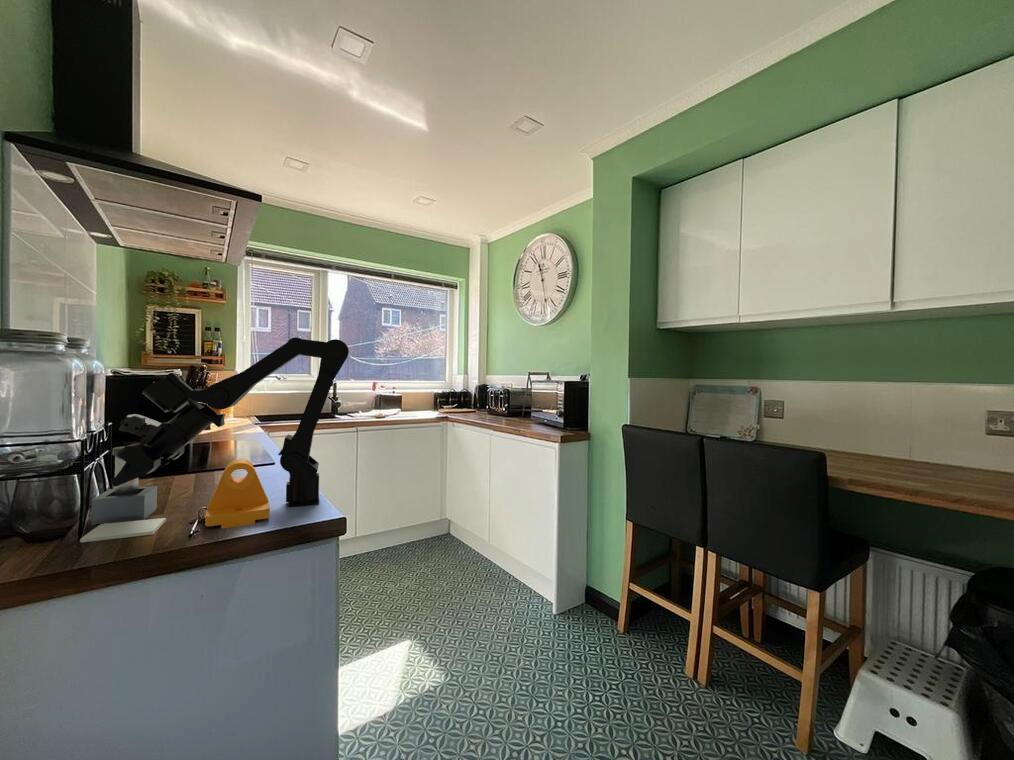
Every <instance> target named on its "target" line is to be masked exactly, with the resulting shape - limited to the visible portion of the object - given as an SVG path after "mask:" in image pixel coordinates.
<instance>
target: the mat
mask: <svg viewBox="0 0 1014 760" xmlns="http://www.w3.org/2000/svg"><path fill="white" fill-rule="evenodd" d="M166 521H167V518H166V517H161V518H159V517H158V518H150V519H145V520H139V521H128V522H118V523H108V524H100V525H97V526H96V527H94V528H93V529H92V530H91V531H89V532H87V534H85V535H84V536H83V537H81V538H80V539H79V543H87V542H98V541H106V540H115V539H116V540H117V539H123V538H125V539H126V538H133V537H141V536H142V537H143V536H151V535H154V534H155V533H156V532H157V531H158V530H159V528H161V527H162V526H163V525H164V524H165V522H166Z"/></svg>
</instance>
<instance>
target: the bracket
mask: <svg viewBox="0 0 1014 760" xmlns="http://www.w3.org/2000/svg"><path fill="white" fill-rule="evenodd" d="M240 469H241V470H245V471H246V472H247V474H246V475H245V476H244V477H243V478H234V477H233V476H232V473H233V472H235V471H236V470H240ZM270 509H271V506H270V503H269V498H268V496H267V494H266V492H265V489H264V488H263V485H262V483H261V480H260V478H259V476H258V474H257V471H256V469H255V467H254V464H253V463H252V462H251V461H250V460H247V459H244V458H238V459H233V460H232V461H230V462H229V463H228V464H227V465H226V466H225V468H224V470H223V473H222V474H221V476H220V479H219V481H218V484H217V486H216V488H215V490H214V492H213V494H212V496H211V499H210V501H209V503H208V505H207V508H206V513H205V518H204V519H205V520H204V521H205V522H204V523H205V527H214V526H220V527H221V529H227V528H228V529H229V528H234V527H235V528H236V527H242V526H247V525H255V524H256V520H264V519H268V518H270V513H271V512H270V511H271V510H270Z"/></svg>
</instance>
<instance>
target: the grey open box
mask: <svg viewBox="0 0 1014 760" xmlns="http://www.w3.org/2000/svg"><path fill="white" fill-rule="evenodd" d="M114 494H115V488H109V489H107V490H105V491H104V492H102V493H100V494H98V495H97V496H95V497H93V498H92V499H91V515H90V516H91V517H90V518H91V519H90V522H91V523H90V524H91V525H90V526H96V524H104V523H118V522H128V521H139V520H147V518H149V517H150V516H151V515H152V514H153V513H154V512H155V511H156V510H157V509H158V507H157V506H158V503H157V502H158V485H151V486H138V494H134V495H121V496H114Z"/></svg>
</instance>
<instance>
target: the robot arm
mask: <svg viewBox="0 0 1014 760" xmlns="http://www.w3.org/2000/svg"><path fill="white" fill-rule="evenodd" d="M349 354H350V351H349V347H348V345H347V344H346V343H345V341H343V340H341V339H336V338H335V339H330V340H328V341H320V340H312V339H305V338H301V337H296V336H295V337H291V338H290V339H288V340H287V341H286V343H284V344H283V345H281V346H280V347H278V348H276V349H275V350H274V351H272V352H270V353H269V354H267V355H265V356H264V357H263V358H262V359H261V358H260V360H258V361H257V362H255V363H254V364H252V365H250V366H249V367H248V368H246V369H244V370H243V371H241V372H238V373H237V374H234V375H231V376H229V377H227V378H224V379H223V380H222V379H221V380H219V381H217V382H215V383H212V384H210V385H209V386H207V388H206V389H202V388H195V389H193V388H192V387H191V386H190V385H189V384H187V383H186V382H185V381H184V380H183V379H182V378H181V377H180V376H179V374H177V373H176V372H170V373H168V374H167V375H166V376H163V377H161V378H159V379H158V380H157V381H153V382H152V383H150V384H149V385H148V386H147V387H145V388H144V390H143V391H142V395H144V396H145V397H146V398H147V399H149V400H150V401H151V403H153V404H154V405H156V406H157V407H159V409H161V410H162V411H163V412H164V413H167V412H168V413H169V412H170V411H171V410H172V412H173V413H177V412H178V411H180V410H181V409H183V410H181V411H180V412H179V413H178V414H176V415H175V416H174V417H173V418H171V420H168V421H167V422H165V421H164V422H159V421H158V420H155V419H152V418H150V417H147V416H144V415H141V414H137V413H133V414H128V415H126V416H125V418H124V419H122V420H120V427H119V429H118V430H119V431H120V432H122V433H129V434H132V435H135V436H138V437H141V438H140V441H141V442H142V443H141V442H140V443H132V444H129V445H125V447H124V446H123V447H124V448H123V449H122V450H120V451H119V452H118V453H117V455H118V456H119V457H120V458H121V459H123V460H124V461H125V462H126V463H125V465H124V466H123V468H122V469H121V470H120V472H119V473H118V474H117V476H116V477H115V476H114V478H113V480H112V481H111V483H110V484H111V486H113V487H114V488H115V487H116V486H119V485H121V484H124V483H126V482H128V481H131V480H133V479H136V478H138V479H139V478H140V477H143V476H146V475H148V474H151V473H153V472H155V471H156V470H157V469H159V468H162V467H164V466H166V465H169V464H170V461H169V459H171V460H172V461H175V460H176V459H178V458H180V456H182V455H183V454H184V453H185V446H186V445H188V444H189V443H192V442H193V441H194V440H195V438H196V437H197V436H199V434H201V433H202V432H203V431H204V430H206V429H207V428H208V427H209V426H210V425H211V424H214V425H215V426H216V427H218V428H220V427H223V426H225V423H226V422H225V416H226V414H225V413H218V412H216V411H215V410H219V411H220V410H225V409H229V408H232V407H234V406H236V405H237V404H238V403H239V402H240V401H241V400H243V398H244V397H245V396H246V395H248V393H249V392H251V390H252V389H253V388H255V386H256V385H258V384H259V383H260V382H262V381H263V380H264V379H267V377H269V376H271V375H272V374H274V373H276V371H278V370H280V369H281V368H283V367H284V366H285V365H287V364H288V363H290V362H292V361H293V360H295V359H296V358H297V357H299V356H305V357H313V358H318V359H320V360H319V361H320V363H319V368H318V375H317V378H316V380H315V382H314V385H313V387H312V390H311V393H310V396H309V398H308V400H307V403H306V407H305V409H304V412H303V414H302V416H301V419H300V422H299V424H298V427H297V428H296V430H295V433H294V434H293V436H292V435H291V434H287V435H286V436H285V438H284V440H283V445H282V448H281V449H280V450H279V452H278V454H277V455H278V456H280V460H279V464H280V466H281V468H282V469H283V470H284V471H286V472H288V473H289V478H288V479H289V481H287V482H286V488H285V489H286V491H285V502H286V503H287V506H288V507H296V506H306V505H307V506H309V505H315V504H317V505H318V504H320V473H319V472H318V469H319V461H317V460H316V459H315V458H313V457H312V456H311V449H312V443H313V438H314V433H315V430H316V428H317V424H318V422H319V419H320V417H321V414H322V411H323V409H324V405H325V404H326V400H327V398H328V396H329V393H330V390H331V388H332V385H333V382H334V380H335V378H336V377H337V375H338V373H339V372H340V371H341V368H342V367H343V366H344V364H345V362H346V360H347V359H348V356H349ZM201 403H203V404H206V405H204V406H203V404H201ZM188 404H189V405H188ZM184 407H185V408H184Z"/></svg>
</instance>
